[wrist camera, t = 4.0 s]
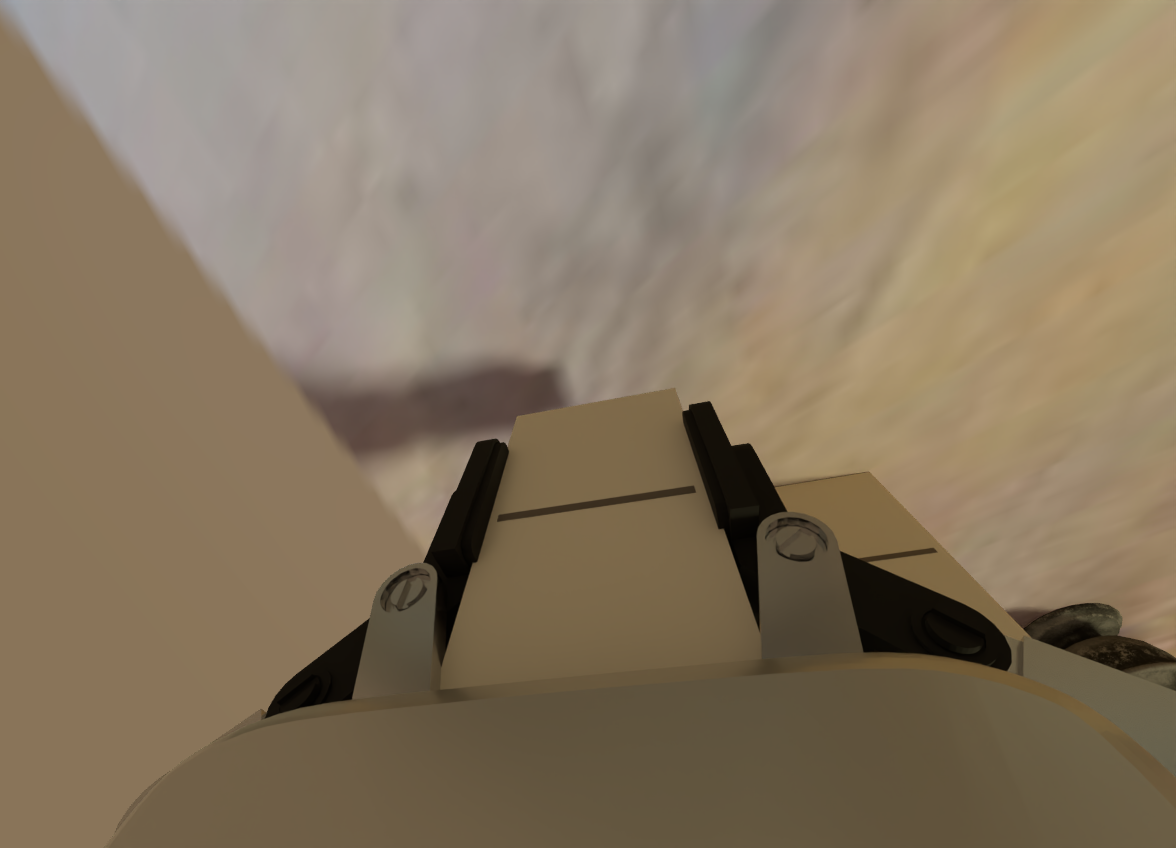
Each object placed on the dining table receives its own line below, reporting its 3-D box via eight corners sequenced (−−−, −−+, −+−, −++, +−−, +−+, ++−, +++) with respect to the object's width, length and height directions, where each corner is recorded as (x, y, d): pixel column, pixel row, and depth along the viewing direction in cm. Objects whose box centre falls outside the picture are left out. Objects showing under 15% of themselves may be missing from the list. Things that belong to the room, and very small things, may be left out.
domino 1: (516, 415, 13) (410, 764, 6) (674, 387, 13) (794, 735, 5) (534, 465, 14) (466, 814, 7) (681, 441, 14) (788, 797, 6)
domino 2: (754, 490, 19) (869, 703, 11) (869, 471, 18) (1075, 681, 11) (754, 522, 20) (861, 740, 12) (864, 506, 19) (1049, 721, 12)
